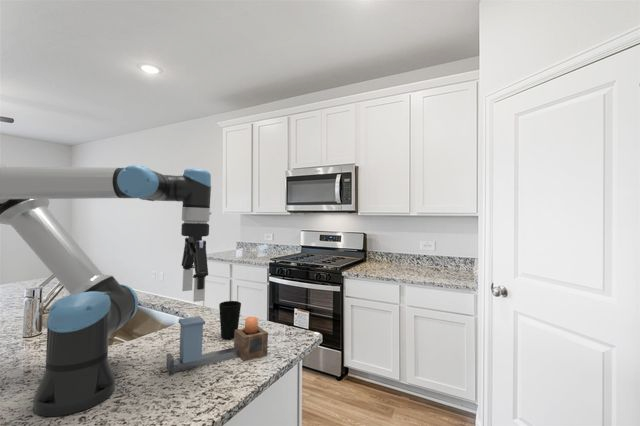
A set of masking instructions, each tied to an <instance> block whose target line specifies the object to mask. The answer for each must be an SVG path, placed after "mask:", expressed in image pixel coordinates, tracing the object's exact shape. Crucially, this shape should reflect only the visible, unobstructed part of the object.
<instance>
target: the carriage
mask: <svg viewBox="0 0 640 426" xmlns="http://www.w3.org/2000/svg"><path fill="white" fill-rule="evenodd" d="M178 323H179V325H180V327H179V328H180V331H179V332H180V333H179V355H178V356H179V359H181V360H182V362H183V363H187V362H191V361H196V360H200V359H202V354H203V334H204V325H205V324H206V320H204V319H203V317H201V316H200V315H198V316H191V317H186V318H180V319H178Z"/></svg>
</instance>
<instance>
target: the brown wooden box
mask: <svg viewBox="0 0 640 426" xmlns="http://www.w3.org/2000/svg"><path fill="white" fill-rule="evenodd" d="M268 341H269V332H268V331H266V330H265V329H263V328H261V326H259V325H258V330H257V332H256V333H253V334H247V333H245V327H243V328H238V329H237V330H235V332H234V339H233V348H234V347H236V348H237V349H238V350H239V357H238V358H239V359H240V360H242V362H245V361H249V360H255V359H258V358H261V357H266V356H268V348H269V347H268V344H269V343H268Z"/></svg>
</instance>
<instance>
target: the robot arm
mask: <svg viewBox="0 0 640 426" xmlns="http://www.w3.org/2000/svg"><path fill="white" fill-rule="evenodd" d="M211 178H212V177H211V173H210V172H209V170H205V169H200V168H186V169H184V171H183V174H182V175H173V174H172V175H171V174H162V173H159V172H158V171H155V170H153V169H151V168H148V167H146V166H144V165H143V166H142V165H135V164H134V165H133V164H132V165H128V166H126V167H101V166H100V167H98V166H97V167H96V166H95V167H92V166H91V167H88V166H87V167H83V166H82V167H81V166H80V167H78V166H77V167H76V166H73V167H71V166H68V167H67V166H64V167H63V166H6V165H5V164H3V163H1V162H0V224H2V225H9V226H11V227H12V228H13V229H14V230H15V231H16V233H17V234H18V236H20V237H21V239H22V240H23V241H24V242H25V244H27V246H28V247H29V248H30V249H31V250H32V251H33V252H34V254H35V255H36V256H37V257H38V259H40V261H41V262H42V263H43V264H44V266H46V268H47V269H48V271H50V272H51V273H52V275H53V276H54V277H55V278H56V280H58V282H59V283H60V284H61V285H62V286H63V288H64V289H65V290H66V291H67V292H68V293H69V295H65V296H64V297H61V298H59V299H57V300H56V301H54V302H53V303H52V304H51V305H50V307H49V309H48V314H47V315H48V316H47V318H46V326H47V327H46V353H45V370H44V373H43V375H42V378H41V380H40V382H39V385H38V387H37V390H36V392H35V394H34V397H33V406H32V407H33V412H34V413H35V414H37V415H39V416H42V417H61V416H66V415H71V414H75V413H79V412H82V411H86V410H88V409H91V408H92V407H93V408H94V407H95V406H97V405H99V404H101V403H103V402H104V401H105V400H107V399H108V398H109V397H110V396H112V395H113V393H114V392H115V386H116V377H115V375H114V372H113V369H112V366H111V363H110V361H109V355H108V354H109V337H110V336H111V335H113V334H114V333H115V332H116V331H118V330H119V329H121V328H123V327H124V326H126V325H127V324H129V322H130V321H131V320H132V319H133V317H134V316H135V315H136V313H137V311H138V309H139V297H138V295H137V293H136V292H135V290H134V289H133V288H131V287H130V286H128V285H124V284H120V282H119V281H118V280H116V278H115V277H114V276H113V274H112V275H111V274H110V275H109V274H105V273H103V272H102V271H101V270H100V269H99V268H98V266H97V265H96V264H95V263H94V262H93V261H92V260H91V258H90V257H89V256H88V255H87V253H86V252H85V251H84V250H83V249H82V247H81V246H80V245H79V244H78V242H76V240H75V239H74V238H73V237H72V235H70V233H69V232H68V230H66V228H65V227H64V226H63V225H62V224H61V222H59V220H58V219H57V218H56V217H55V215H54V214H53V213H52V211H50V210H49V208H48V207H49V205H50V200H54V199H56V200H57V199H58V200H60V199H61V200H65V199H66V200H69V199H70V200H71V199H72V200H74V199H84V200H85V199H139V200H142V201H150V202H156V201H157V202H158V201H159V202H182V207H181V221H182V224H181V230H180V231H181V233H180V234H181V236H182V237H185V238H184V248H183V255H182V261H181V267H182V269H183V270H182V289H181V291H182V292H190V291H193V300H192V301H193V303H195V302H205V294H206V293H205V292H206V291H205V290H206V277H208V276H209V269H208V267H209V266H208V258H207V256H208V255H207V241H206V240H203V237H208V236H209V235H210V224H209V223H208V222H209V221H210V215H212V211H210V210H211V195H212V194H211V192H212V181H211V180H212V179H211ZM194 271H195V272H194ZM193 279H194V281H193Z"/></svg>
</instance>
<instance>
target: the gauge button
mask: <svg viewBox="0 0 640 426" xmlns="http://www.w3.org/2000/svg"><path fill="white" fill-rule="evenodd" d="M258 320H259V318H258V317H256V316H247V317H246V318H245V319H244V328H245V333H247V334H253V333H256V332H257V330H258V326H259V323H258V322H259V321H258Z"/></svg>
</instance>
